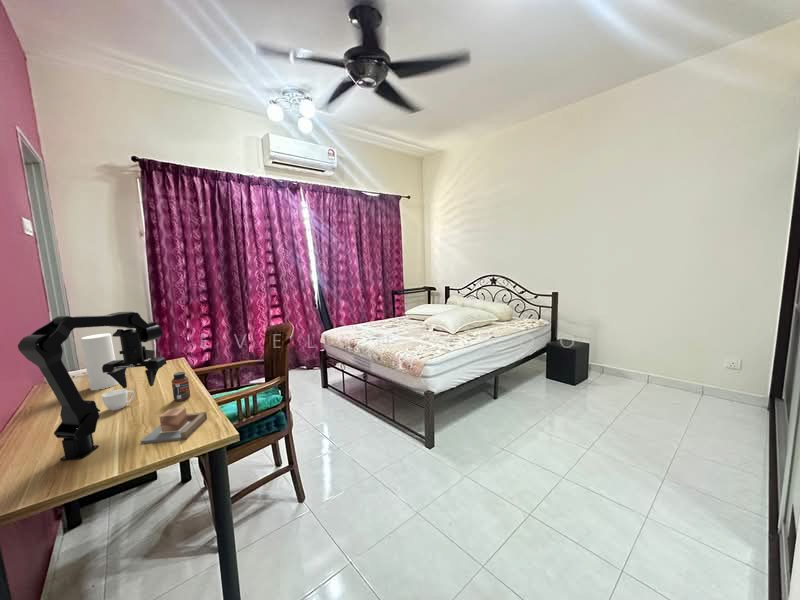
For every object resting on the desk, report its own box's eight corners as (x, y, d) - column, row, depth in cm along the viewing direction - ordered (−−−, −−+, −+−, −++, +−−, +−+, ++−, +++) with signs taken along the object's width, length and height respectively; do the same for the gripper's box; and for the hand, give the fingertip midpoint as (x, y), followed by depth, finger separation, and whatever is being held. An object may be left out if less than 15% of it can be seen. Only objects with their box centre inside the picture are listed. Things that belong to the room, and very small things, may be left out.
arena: (186, 439, 108) (185, 432, 107) (141, 443, 107) (139, 436, 106) (207, 418, 122) (206, 412, 121) (167, 421, 120) (166, 415, 120)
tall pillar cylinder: (125, 381, 165) (116, 333, 161) (103, 390, 154) (93, 338, 151) (106, 381, 166) (98, 333, 163) (84, 390, 156) (74, 339, 152)
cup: (103, 409, 134) (100, 393, 133) (134, 400, 141) (131, 385, 140) (106, 414, 129) (103, 398, 128) (138, 405, 136) (135, 389, 135)
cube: (187, 422, 117) (185, 407, 117) (178, 430, 112) (176, 415, 111) (171, 423, 117) (169, 409, 116) (161, 431, 112) (159, 416, 111)
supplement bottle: (182, 402, 137) (178, 376, 136) (170, 401, 138) (166, 375, 137) (194, 395, 143) (190, 371, 141) (182, 395, 144) (178, 370, 143)
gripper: (172, 338, 127) (177, 377, 130) (121, 341, 126) (127, 380, 128) (153, 346, 116) (160, 388, 119) (97, 350, 115) (104, 392, 117)
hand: (138, 387), depth 121 cm, fingers open, 9 cm apart
